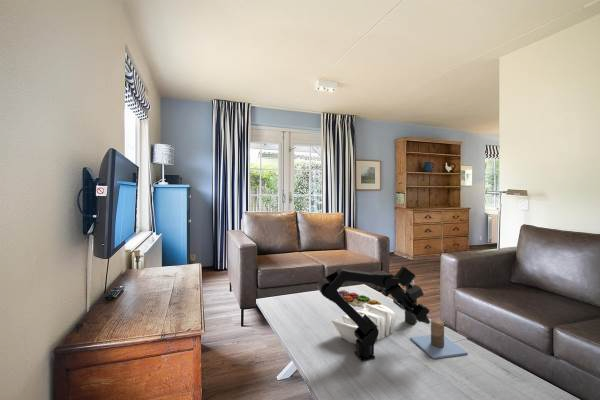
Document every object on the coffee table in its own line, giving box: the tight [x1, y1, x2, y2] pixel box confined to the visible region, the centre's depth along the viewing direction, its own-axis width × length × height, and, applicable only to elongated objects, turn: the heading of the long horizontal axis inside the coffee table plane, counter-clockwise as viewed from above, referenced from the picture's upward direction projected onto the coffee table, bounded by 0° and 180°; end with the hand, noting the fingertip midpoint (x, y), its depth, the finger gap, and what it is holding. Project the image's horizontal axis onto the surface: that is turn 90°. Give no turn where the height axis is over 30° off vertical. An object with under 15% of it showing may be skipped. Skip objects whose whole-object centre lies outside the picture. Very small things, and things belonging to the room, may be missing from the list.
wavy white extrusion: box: [331, 303, 397, 345], centre depth 134 cm, size 35×16×10 cm, turn 126°
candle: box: [404, 279, 418, 326], centre depth 145 cm, size 5×5×25 cm
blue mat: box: [410, 334, 469, 360], centre depth 122 cm, size 16×16×1 cm
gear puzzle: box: [338, 289, 381, 308], centre depth 175 cm, size 31×16×4 cm, turn 50°
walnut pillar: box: [430, 318, 445, 348], centre depth 122 cm, size 5×5×10 cm
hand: (422, 318), depth 121 cm, fingers open, 9 cm apart
